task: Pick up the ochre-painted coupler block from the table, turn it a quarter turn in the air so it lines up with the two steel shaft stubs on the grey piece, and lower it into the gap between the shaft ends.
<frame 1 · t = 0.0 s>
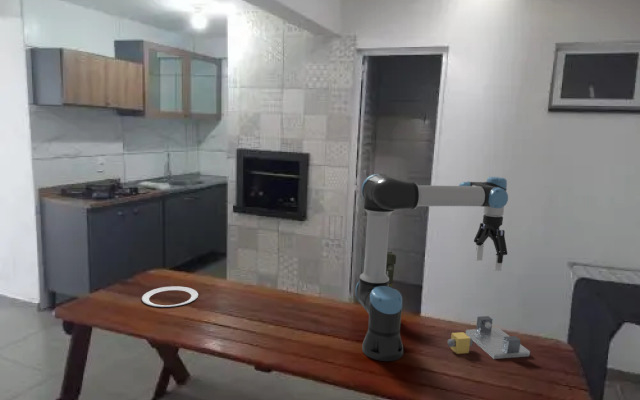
hand: (487, 265, 189), 28 cm above the table, fingers open, 13 cm apart
grey piece: (495, 344, 179), on the table
coupler: (459, 350, 173), on the table
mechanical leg: (384, 316, 201), on the table
flat white ring: (170, 298, 211), on the table
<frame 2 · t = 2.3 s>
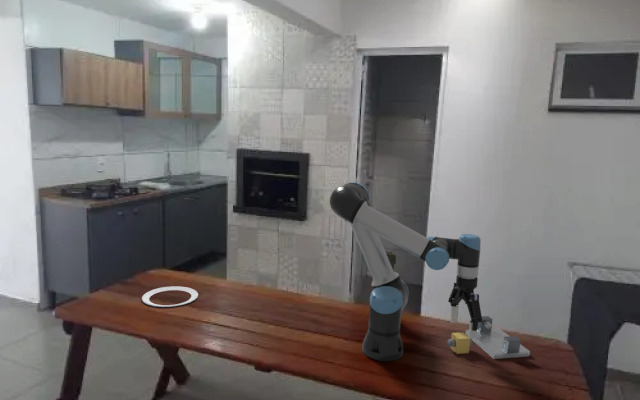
hand: (462, 329, 172), 8 cm above the table, fingers open, 13 cm apart
nothing on the table moved.
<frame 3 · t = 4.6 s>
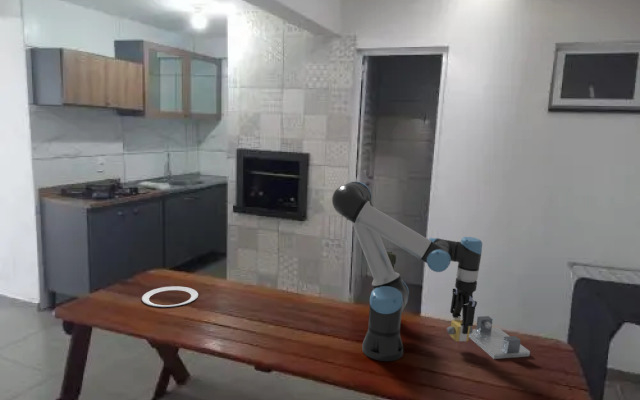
hand: (458, 336, 173), 5 cm above the table, fingers closed on coupler, 5 cm apart
coupler: (458, 338, 173), point 5 cm above the table, touching gripper
everything else where it was.
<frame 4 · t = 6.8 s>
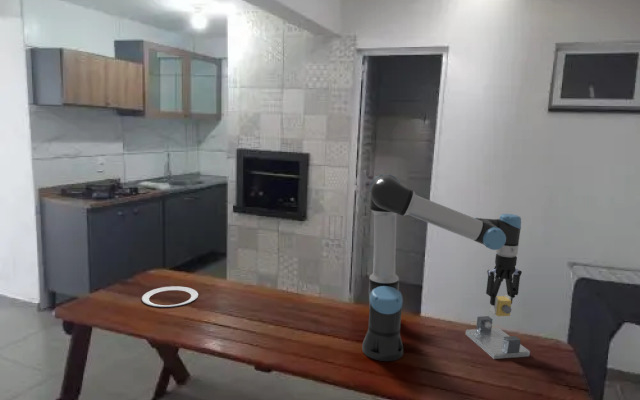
hand: (499, 312, 177), 14 cm above the table, fingers closed on coupler, 5 cm apart
coupler: (500, 313, 177), point 13 cm above the table, touching gripper
everything else where it was.
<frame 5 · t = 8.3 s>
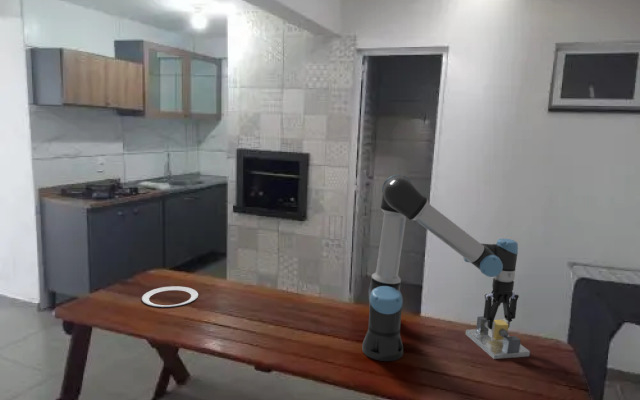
hand: (497, 335, 178), 4 cm above the table, fingers closed on coupler, 5 cm apart
coupler: (497, 336, 178), point 3 cm above the table, touching gripper
everything else where it was.
when the fingers open (2 cm above the table, at t = 9.0 s): coupler stays where it is, resting on grey piece.
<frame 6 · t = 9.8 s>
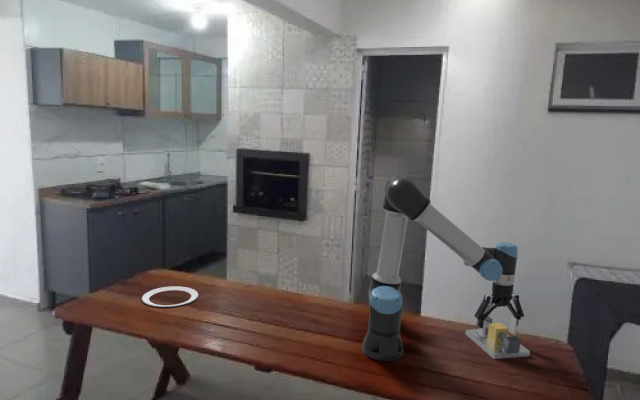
hand: (497, 334, 178), 4 cm above the table, fingers open, 13 cm apart
coupler: (496, 340, 178), point 2 cm above the table, touching grey piece
everything else where it was.
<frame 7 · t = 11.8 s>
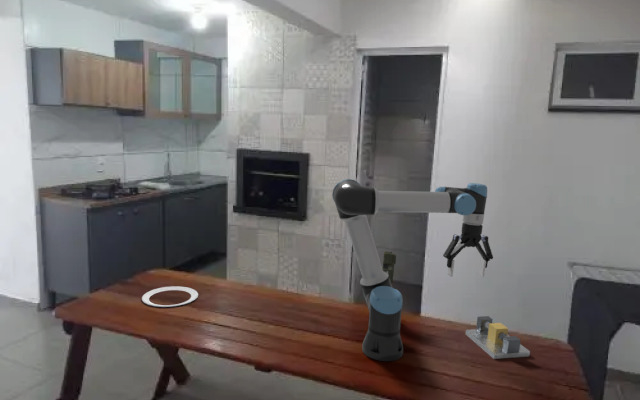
hand: (465, 275, 180), 26 cm above the table, fingers open, 13 cm apart
nothing on the table moved.
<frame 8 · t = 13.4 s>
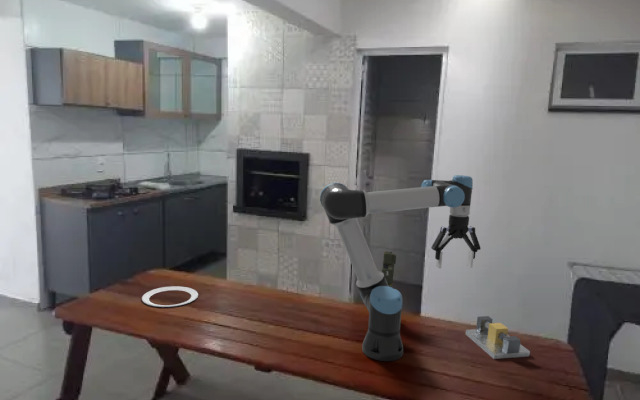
hand: (454, 267, 181), 29 cm above the table, fingers open, 13 cm apart
nothing on the table moved.
at the end: coupler 0.2 cm off-centre on the grey piece, point 2.0 cm above the grey piece's base; coupler tilted 0°; the gripper is holding nothing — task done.
